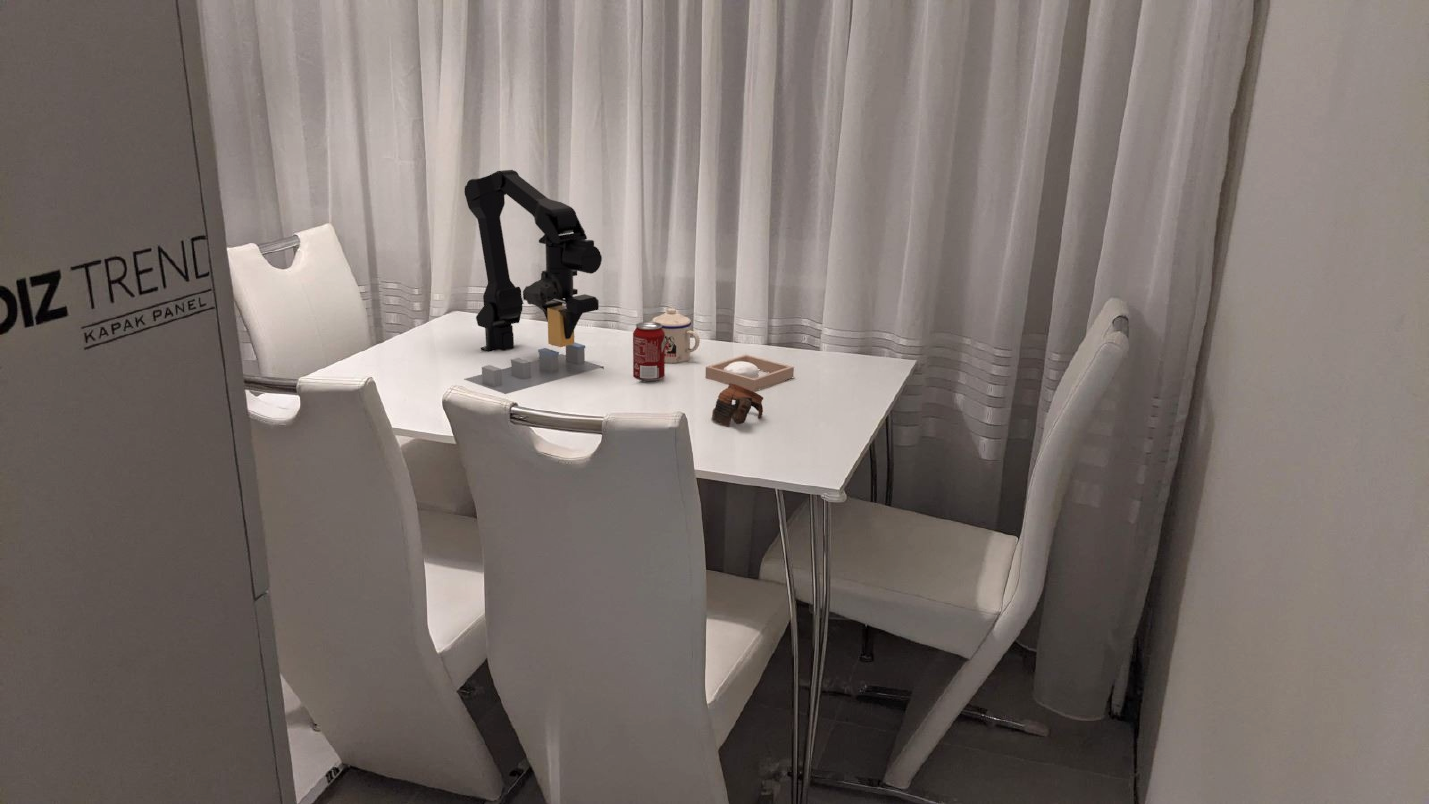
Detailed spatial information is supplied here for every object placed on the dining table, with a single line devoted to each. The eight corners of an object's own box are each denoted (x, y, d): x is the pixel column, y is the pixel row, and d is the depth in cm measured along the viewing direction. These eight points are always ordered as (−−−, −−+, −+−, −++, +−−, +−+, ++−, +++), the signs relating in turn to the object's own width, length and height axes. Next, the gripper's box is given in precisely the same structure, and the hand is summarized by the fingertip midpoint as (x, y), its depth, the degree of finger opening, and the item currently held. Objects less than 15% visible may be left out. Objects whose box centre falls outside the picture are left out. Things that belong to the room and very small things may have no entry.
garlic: (735, 387, 227) (736, 369, 226) (715, 379, 232) (715, 362, 231) (763, 380, 232) (764, 363, 231) (743, 372, 237) (743, 356, 236)
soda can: (660, 384, 227) (660, 330, 223) (629, 382, 228) (629, 327, 224) (667, 375, 233) (668, 322, 229) (637, 373, 234) (637, 320, 230)
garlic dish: (705, 377, 232) (705, 366, 231) (745, 365, 242) (745, 354, 241) (753, 391, 223) (754, 380, 223) (793, 377, 233) (793, 366, 232)
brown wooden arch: (703, 416, 210) (720, 378, 210) (745, 435, 212) (761, 398, 212) (717, 421, 198) (735, 381, 198) (762, 442, 200) (779, 401, 200)
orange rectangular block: (548, 343, 233) (547, 308, 231) (562, 340, 236) (561, 305, 233) (560, 347, 231) (559, 311, 228) (574, 343, 234) (573, 308, 231)
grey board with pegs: (463, 383, 224) (462, 360, 223) (561, 358, 244) (561, 336, 242) (505, 398, 216) (504, 374, 214) (603, 370, 235) (603, 348, 233)
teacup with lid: (643, 359, 244) (643, 310, 240) (665, 350, 251) (666, 302, 248) (687, 368, 238) (688, 317, 234) (709, 359, 246) (710, 309, 242)
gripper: (501, 264, 228) (504, 335, 233) (559, 278, 216) (561, 352, 221) (542, 257, 236) (544, 326, 241) (600, 270, 224) (600, 342, 229)
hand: (561, 336), depth 233 cm, fingers closed on orange rectangular block, 4 cm apart
